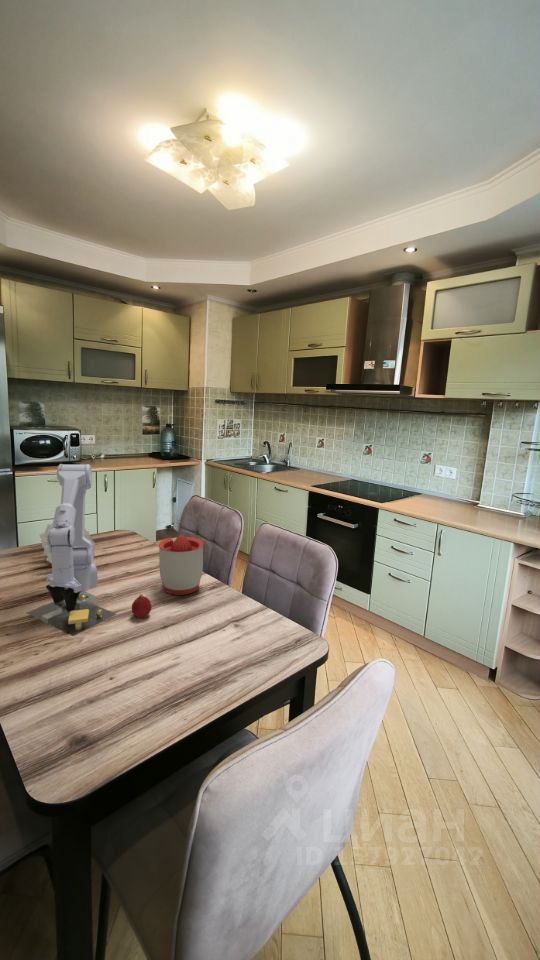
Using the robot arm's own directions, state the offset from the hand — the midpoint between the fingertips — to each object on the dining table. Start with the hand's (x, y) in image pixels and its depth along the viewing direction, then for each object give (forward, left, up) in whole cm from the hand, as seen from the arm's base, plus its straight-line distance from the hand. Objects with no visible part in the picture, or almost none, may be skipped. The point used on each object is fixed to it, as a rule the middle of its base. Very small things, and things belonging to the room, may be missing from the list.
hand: (65, 608), depth 126 cm
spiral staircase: (-26, -37, -3) cm, 45 cm away
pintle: (-6, 0, -2) cm, 6 cm away
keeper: (+2, +9, -2) cm, 10 cm away
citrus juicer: (-35, +15, -3) cm, 38 cm away
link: (-1, 0, -2) cm, 2 cm away
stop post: (-4, +10, -2) cm, 11 cm away
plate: (-1, +2, -3) cm, 3 cm away
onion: (-12, +20, -3) cm, 23 cm away
